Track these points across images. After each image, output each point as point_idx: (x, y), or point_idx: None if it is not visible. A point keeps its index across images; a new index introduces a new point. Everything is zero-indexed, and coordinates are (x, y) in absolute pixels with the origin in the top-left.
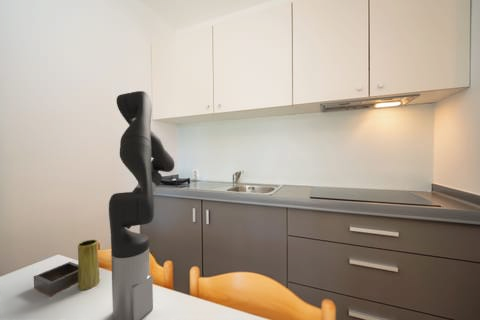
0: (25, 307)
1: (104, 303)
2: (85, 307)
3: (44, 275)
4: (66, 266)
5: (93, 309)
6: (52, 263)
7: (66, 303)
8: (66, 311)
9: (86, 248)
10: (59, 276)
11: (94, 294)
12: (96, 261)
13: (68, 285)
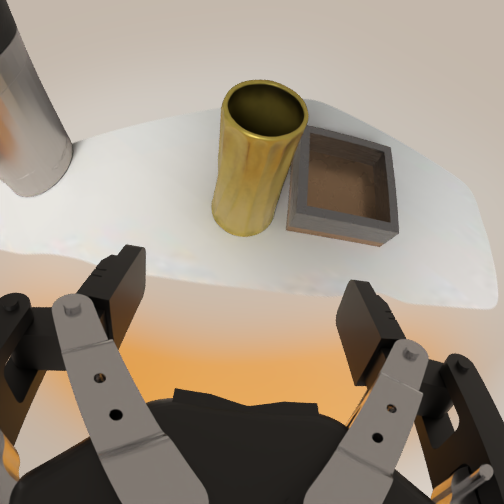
0: None
1: (118, 160)
2: (156, 139)
3: (382, 167)
4: (386, 220)
5: (130, 140)
6: (472, 271)
7: None
8: (190, 122)
9: (236, 96)
10: (368, 205)
11: (177, 177)
12: (219, 172)
13: (291, 178)
